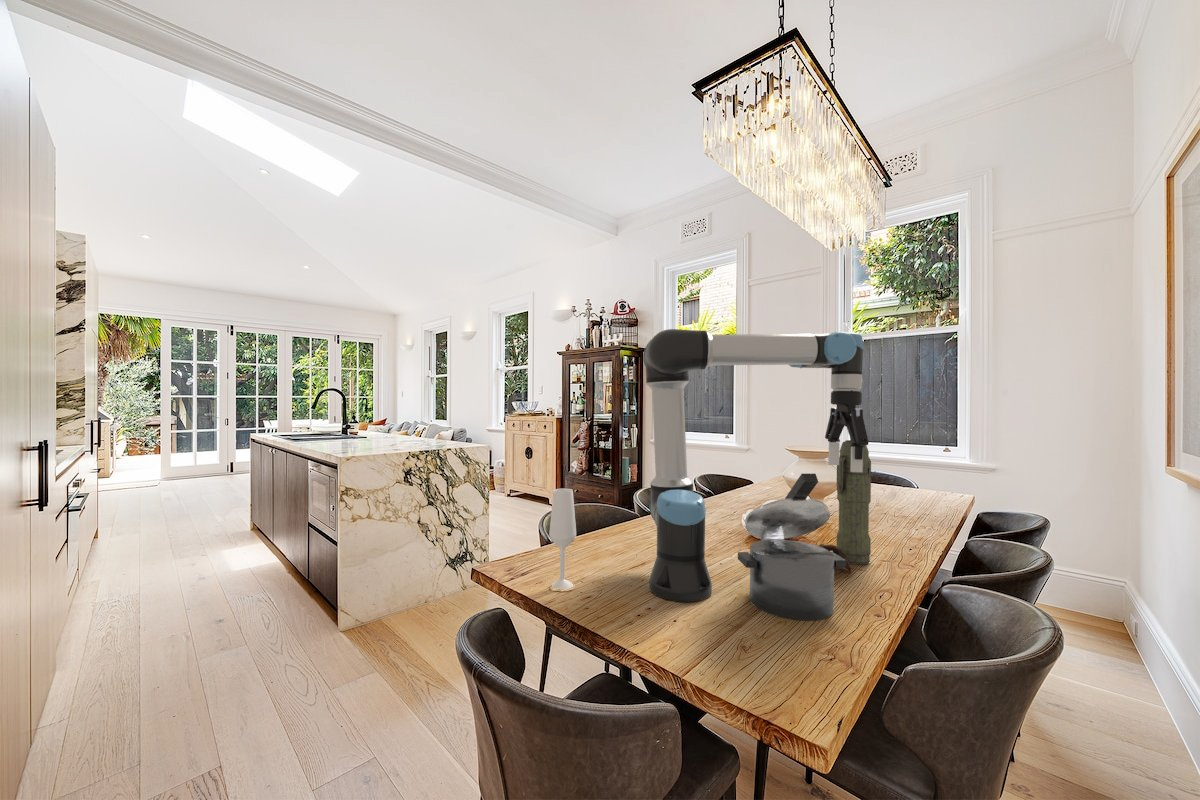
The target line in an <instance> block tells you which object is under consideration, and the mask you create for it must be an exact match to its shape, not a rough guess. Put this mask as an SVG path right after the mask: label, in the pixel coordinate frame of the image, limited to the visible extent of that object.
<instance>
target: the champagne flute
mask: <svg viewBox="0 0 1200 800" xmlns="http://www.w3.org/2000/svg"><path fill="white" fill-rule="evenodd" d="M573 490H574V489H571V488H563V487H562V488H561V487H560V488H555V489H553V492H552V493H553V494H552V501H551V503H552V505H551V513H550V525H549V531H548V532H549V534H548V535H549V536H548V537H549V538H550V540H551V542H552V543H554V544H555V545H556V547H558V548H559V550H560V552H559V553H560V554H559V556H560V558H559V562H560V563H559V565H560V566H559V568H560V569H559V577H560V578H559V579H558V580H556V581H554V582H553V583H551V584H552V587H553V588H556V589H557V588H558V589H569V588H571V587H573V584H574V583H573V582H571V581H569V580H567V579H566V576H565V575H566V572H565V571H566V548H567V547H569V546H570V545H571V544H572V543H573V542H574V541H575V539H576V537H577V526H576V514H575V513H576V512H575V503H574V502H575V501H574V491H573ZM572 583H573V584H572Z"/></svg>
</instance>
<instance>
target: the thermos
mask: <svg viewBox="0 0 1200 800" xmlns="http://www.w3.org/2000/svg"><path fill="white" fill-rule="evenodd" d="M851 444H852V441H851V439H848V440H845V441H842V443H841V445H840V447H839V465H836V493H837V495H836V496H837V497H836V498H837V500H838V531H837V533H836V546H837V547H839V548H840V549H841V551H843V552H844V553H845V554H846V555H847V559H848V560H849V562H848V563H849V564H851V565H852V564H853V565H868V563H869V562H870V563H871V558H870V556H871V552H872V551H871V549H872V548H871V546H872V545H871V543H872V541H871V537H870V534H869V531H870V530H869V526H870V525H869V520H870V519H869V517H870V515H869V514H870V512H869V511H870V509H869V506H870V503H871V499H872V498H871V497H872V496H871V495H872V494H871V493H872V492H871V491H872V461H871V459H870V457H869V448H868V445H865V446H864V447H863V472H850V469H851V446H850V445H851ZM870 563H869V564H870Z"/></svg>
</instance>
